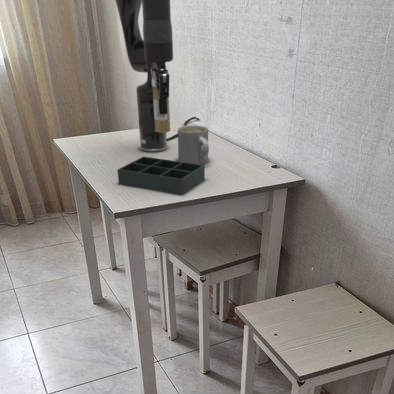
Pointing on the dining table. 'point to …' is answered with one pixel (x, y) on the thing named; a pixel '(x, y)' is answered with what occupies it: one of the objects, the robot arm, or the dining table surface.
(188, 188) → the rack
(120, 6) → the robot arm
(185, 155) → the coffee mug
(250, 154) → the dining table surface
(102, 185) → the dining table surface
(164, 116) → the sprinkles bottle
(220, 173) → the dining table surface
